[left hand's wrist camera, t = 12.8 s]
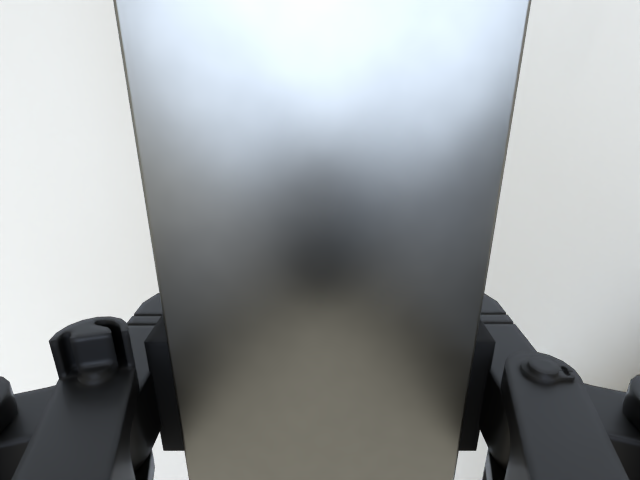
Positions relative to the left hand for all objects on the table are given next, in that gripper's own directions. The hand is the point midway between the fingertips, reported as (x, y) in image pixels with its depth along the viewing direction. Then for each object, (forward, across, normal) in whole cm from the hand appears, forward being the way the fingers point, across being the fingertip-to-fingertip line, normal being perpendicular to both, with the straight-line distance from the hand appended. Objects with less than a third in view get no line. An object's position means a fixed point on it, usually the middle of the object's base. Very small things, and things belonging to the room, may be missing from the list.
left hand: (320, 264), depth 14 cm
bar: (+1, 0, -13) cm, 13 cm away
